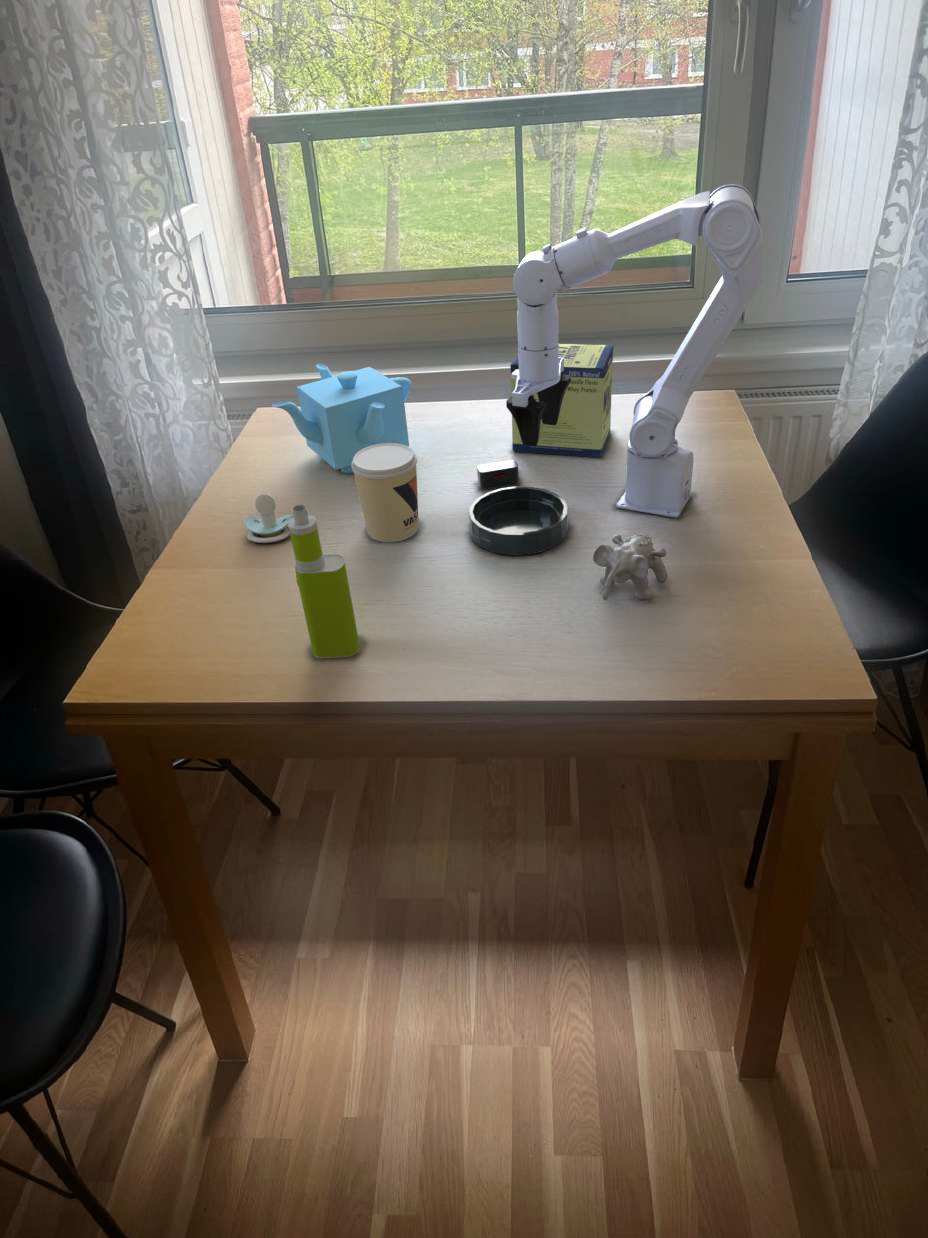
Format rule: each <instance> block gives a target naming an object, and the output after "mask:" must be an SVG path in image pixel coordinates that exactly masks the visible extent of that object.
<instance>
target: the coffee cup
mask: <svg viewBox="0 0 928 1238" xmlns="http://www.w3.org/2000/svg"><path fill="white" fill-rule="evenodd" d="M417 462H418V458H417V454H416V453H415V452H414V450H413V449H412V448H411V447H410V446H409V447H408V446H405V445H402V444H396V443H383V444H376V445H372V446H369V447H366V448H364V449H362V450H360V451H359V452H357V453H356V454H355V456H354V458H353V461H352V470H353V472H352V473H353V475H354V481H355V485H356V488H357V494H358V498H359V502H360V506H361V510H362V515H363V519H364V523H365V528H366V531H367V534H368V536H369V537H370V538H371V539H372V540H375V541H377V542H380V543H381V542H382V543H397V542H402V541H404V540H407V539H410V538H411V537H413V536H414V535H415V534H416V533H417V532H418V530H419V494H418V474H417V471H418V470H417Z"/></svg>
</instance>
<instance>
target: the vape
mask: <svg viewBox="0 0 928 1238" xmlns="http://www.w3.org/2000/svg"><path fill="white" fill-rule="evenodd" d="M291 511H292V515H293V518H292V519H291V520H289V522H288V525H287V527H288V531H289V532H290V534H289V536H290V539H291V544H292V549H293V554H294V561H295V563H294V571H295V577H296V579H295V580H296V584H297V587H298V590H299V594H300V599H301V603H302V608H303V614H304V618H305V622H306V626H307V627H306V628H307V632H308V636H309V641H310V645H311V650H312V654H313V656H314V658H316V659H335V658H350V657H353V656H354V655H356V654H357V653H358V651H360V639H359V635H358V629H357V623H356V616H355V611H354V605H353V601H352V594H351V588H350V583H349V577H348V572H347V565H346V559H345V557H344V555H342V554H340V553H325V554H324V552H323V550H322V544H321V539H320V533H319V529H318V521H317V518H316V517H315V516H314V515H312V514H309V513H308V507H307V506H306V505H305V504H297V505H294V506H293V507H292V508H291Z"/></svg>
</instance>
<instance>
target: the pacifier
mask: <svg viewBox="0 0 928 1238" xmlns="http://www.w3.org/2000/svg"><path fill="white" fill-rule="evenodd" d="M254 506H255V509H256V512H258V514H260V516H257V515H256V516H255V515H251V516H250V515H249V516H246V517H245V518H244V520H243V524H244V526H245V527H246V529H247V530H248V531H250V532H249V533H248V534H247V535H246V537H247V540H248V541H250V542H252V543H256V544H257V543H258V544H268V543H276V542H280V541H283V540H285V539H286V538H288V537H290V531H289V529H287V527H288V522H289V520H291V519H292V518H294V516H293V513H289V514H285V515H282V516H280V517H278V518H276V513H275V511H276V507H277V506H276V500H275V499H274V497H273V496H272V495H270V494H268V493H261V494H259V495H258V496H257V497H256V499H255V501H254ZM256 535H259V536H261V537H258V536H256Z"/></svg>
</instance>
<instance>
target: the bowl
mask: <svg viewBox="0 0 928 1238" xmlns="http://www.w3.org/2000/svg"><path fill="white" fill-rule="evenodd" d="M468 522H469V532H470V536H471V538H472V539H471V540H472V541H474V543H476V544H477V545H478V546H479V547H481V548H482V549H484V550H486V551H489V552H491V553H495V554H500V555H505V556H525V555H532V554H538V553H542V552H544V551H548V550H550V549H552V548H554V547H555V546H557V545H558V544H561V542H562V541H563V540H564V539H565V537H566V536H567V535H568V529H569V506H568V504H567V502H566V500H565V499H564V498H563V497H562V496H560V495H559V494H557V493H556V492H553V491H551V490H548V489H546V488H543V487H542V488H541V487H535V486H525V485H524V486H523V485H521V486H515V485H514V486H507V487H500V488H498V489H494V490H492V491H488V492H486V493H485V494H482V495H480V496H479V497H477V498H476V499H475V500H474V501H473V503H471V504H470V507H469V511H468Z"/></svg>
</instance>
